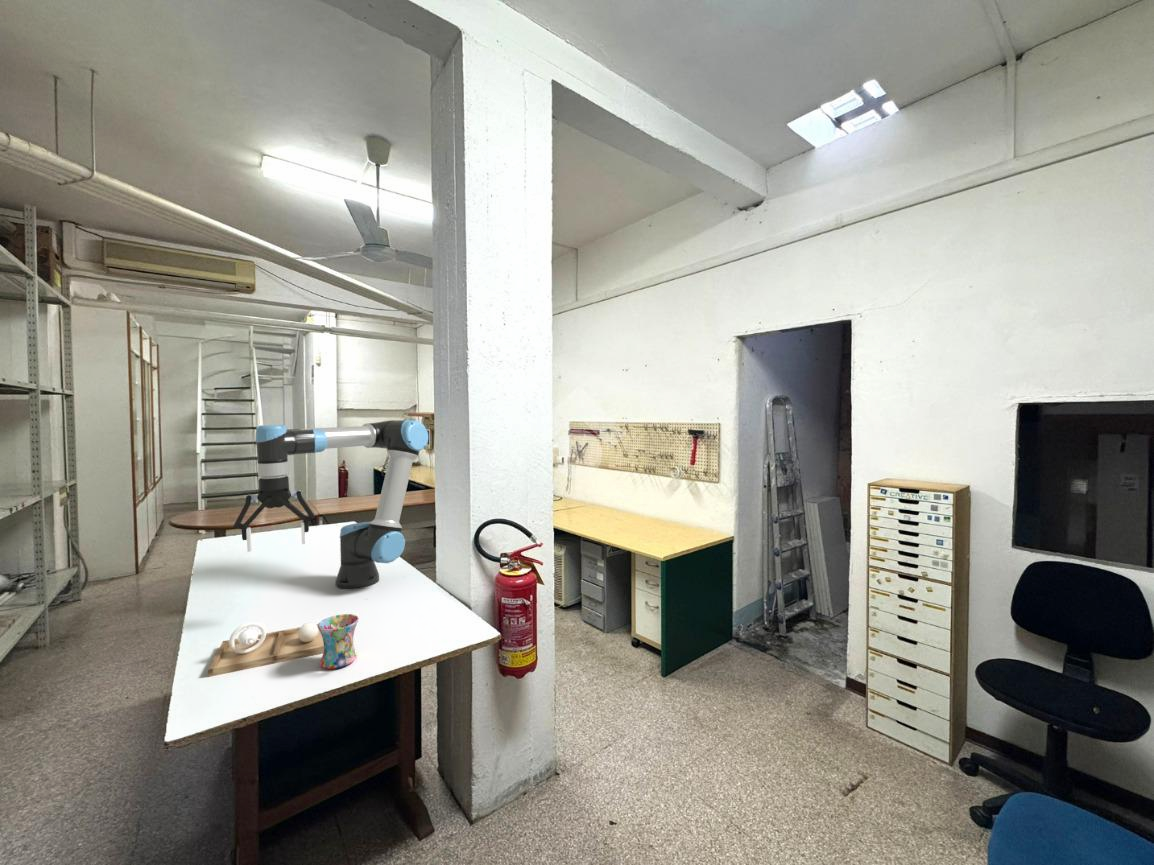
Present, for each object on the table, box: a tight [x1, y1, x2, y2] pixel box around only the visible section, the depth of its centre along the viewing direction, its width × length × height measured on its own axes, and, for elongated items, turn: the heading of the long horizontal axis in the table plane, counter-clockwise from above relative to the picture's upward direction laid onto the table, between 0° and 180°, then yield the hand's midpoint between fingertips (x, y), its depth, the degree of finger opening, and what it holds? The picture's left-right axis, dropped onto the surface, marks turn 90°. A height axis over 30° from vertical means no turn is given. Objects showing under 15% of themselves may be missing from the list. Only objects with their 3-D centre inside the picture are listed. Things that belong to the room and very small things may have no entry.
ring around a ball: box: [228, 621, 267, 654], centre depth 119 cm, size 8×6×8 cm
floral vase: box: [317, 613, 359, 670], centre depth 115 cm, size 12×9×11 cm
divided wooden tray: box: [207, 623, 324, 678], centre depth 123 cm, size 27×16×2 cm, turn 118°
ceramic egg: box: [298, 622, 319, 642], centre depth 126 cm, size 5×5×5 cm
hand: (277, 546), depth 136 cm, fingers open, 13 cm apart
